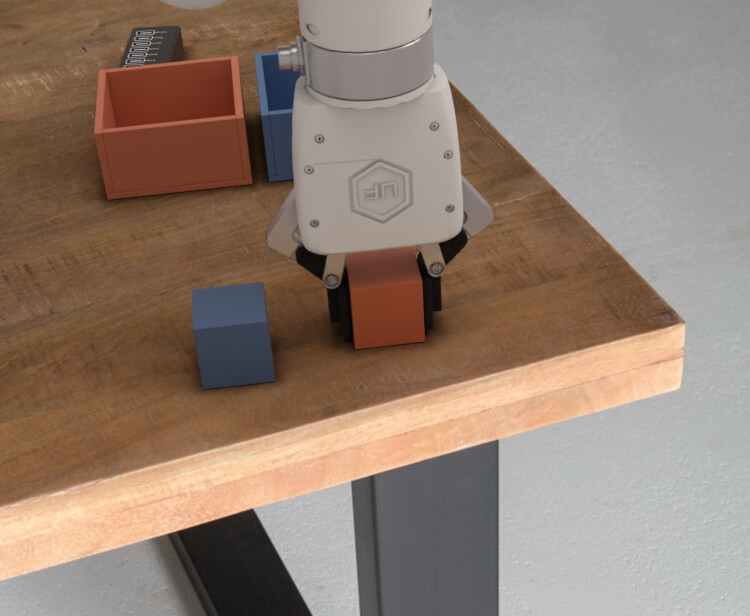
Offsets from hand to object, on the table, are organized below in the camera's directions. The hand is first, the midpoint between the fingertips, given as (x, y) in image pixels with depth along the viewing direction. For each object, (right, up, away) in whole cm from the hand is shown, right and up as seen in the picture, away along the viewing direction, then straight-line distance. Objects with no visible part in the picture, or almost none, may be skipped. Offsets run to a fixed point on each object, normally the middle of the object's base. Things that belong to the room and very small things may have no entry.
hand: (385, 321), depth 94 cm
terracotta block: (0, 0, 0) cm, 0 cm away
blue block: (-10, -3, -2) cm, 10 cm away
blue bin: (-4, +18, +20) cm, 27 cm away
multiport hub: (-20, +25, +30) cm, 44 cm away
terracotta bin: (-16, +16, +19) cm, 30 cm away
